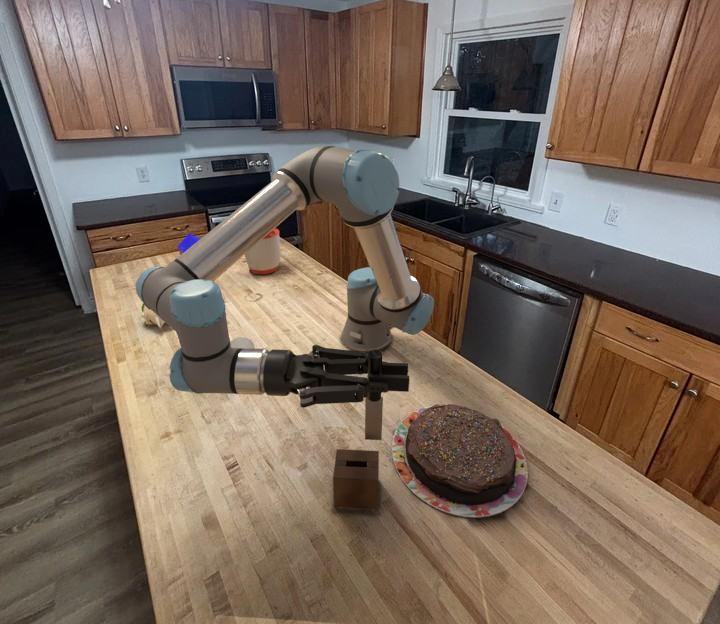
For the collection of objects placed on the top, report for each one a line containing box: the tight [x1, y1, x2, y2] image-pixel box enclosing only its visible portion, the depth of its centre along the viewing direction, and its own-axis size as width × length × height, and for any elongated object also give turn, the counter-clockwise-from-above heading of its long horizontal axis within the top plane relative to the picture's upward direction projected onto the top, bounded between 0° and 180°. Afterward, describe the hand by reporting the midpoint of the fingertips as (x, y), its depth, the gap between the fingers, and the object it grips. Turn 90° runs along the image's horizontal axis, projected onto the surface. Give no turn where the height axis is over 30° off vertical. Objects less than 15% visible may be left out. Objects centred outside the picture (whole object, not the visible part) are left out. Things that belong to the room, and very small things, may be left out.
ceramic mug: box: [230, 336, 256, 349], centre depth 108 cm, size 11×8×8 cm
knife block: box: [332, 448, 380, 511], centre depth 72 cm, size 8×6×9 cm
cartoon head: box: [140, 302, 167, 330], centre depth 129 cm, size 9×10×20 cm
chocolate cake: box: [391, 403, 530, 519], centre depth 81 cm, size 28×28×7 cm
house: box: [177, 233, 201, 256], centre depth 171 cm, size 12×20×12 cm, turn 37°
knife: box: [364, 350, 384, 441], centre depth 66 cm, size 3×2×19 cm
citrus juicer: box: [244, 227, 282, 276], centre depth 164 cm, size 16×17×20 cm
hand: (408, 377), depth 64 cm, fingers closed on knife, 2 cm apart
